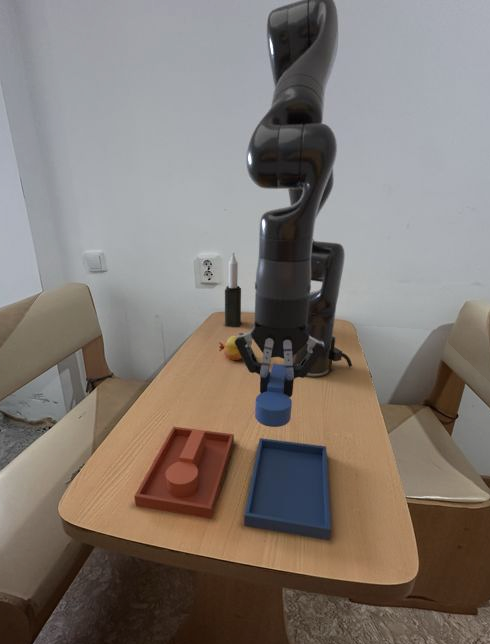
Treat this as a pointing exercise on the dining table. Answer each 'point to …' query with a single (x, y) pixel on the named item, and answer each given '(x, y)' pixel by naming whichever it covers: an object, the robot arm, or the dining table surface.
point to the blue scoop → (274, 401)
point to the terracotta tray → (209, 475)
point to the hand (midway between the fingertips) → (275, 396)
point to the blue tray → (290, 489)
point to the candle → (233, 296)
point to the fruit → (231, 349)
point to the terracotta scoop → (187, 467)
